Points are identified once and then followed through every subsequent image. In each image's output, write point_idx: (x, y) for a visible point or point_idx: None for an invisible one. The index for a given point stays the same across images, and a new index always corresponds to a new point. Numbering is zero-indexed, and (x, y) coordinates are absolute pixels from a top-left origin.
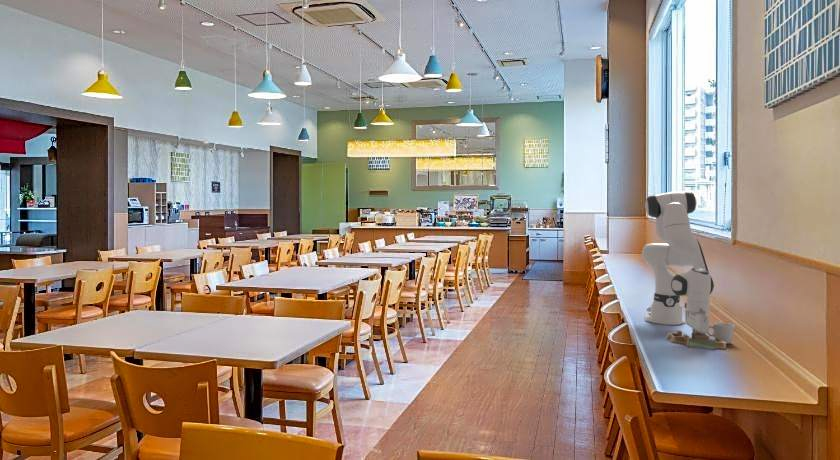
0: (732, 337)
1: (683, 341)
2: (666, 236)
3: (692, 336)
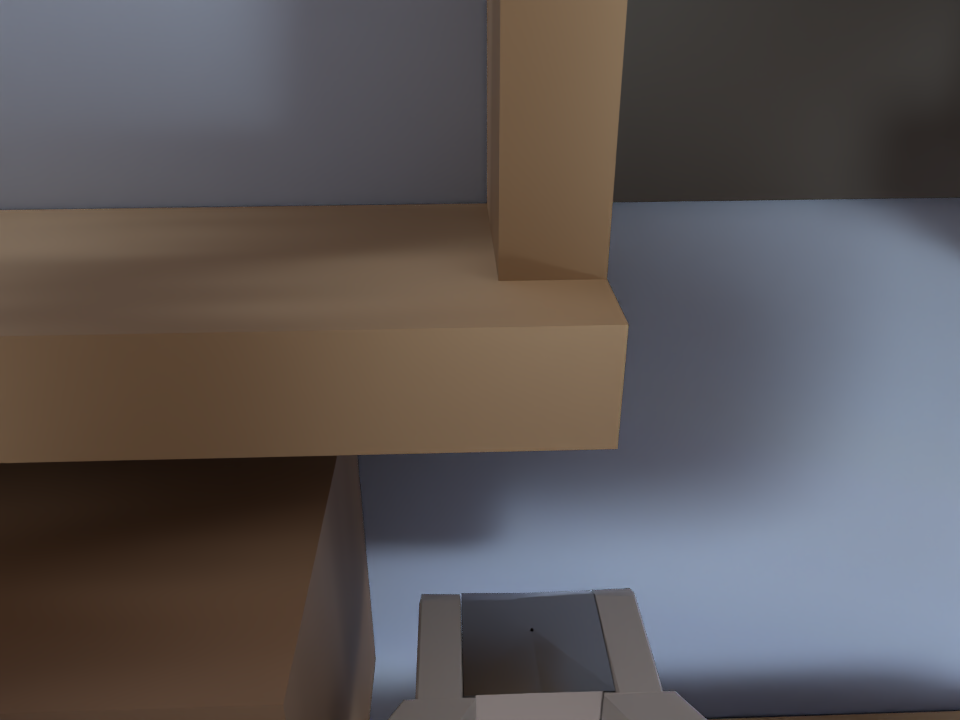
0: None
1: (490, 216)
2: None
3: (160, 587)
